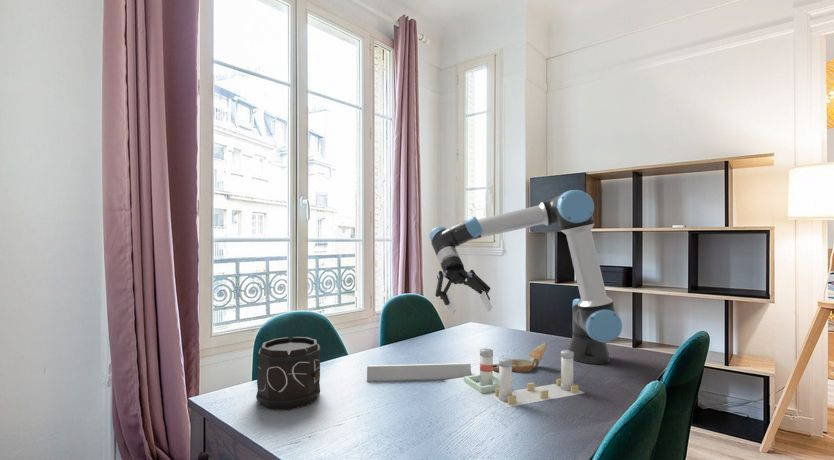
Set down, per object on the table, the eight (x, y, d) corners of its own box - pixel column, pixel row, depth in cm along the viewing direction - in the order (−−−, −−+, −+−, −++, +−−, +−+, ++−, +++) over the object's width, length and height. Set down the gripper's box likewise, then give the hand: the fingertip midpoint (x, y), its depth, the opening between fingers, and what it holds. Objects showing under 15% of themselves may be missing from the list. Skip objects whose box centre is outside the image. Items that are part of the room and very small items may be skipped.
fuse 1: (507, 396, 114) (507, 357, 115) (514, 400, 111) (514, 360, 111) (496, 397, 113) (496, 358, 113) (503, 402, 110) (503, 362, 110)
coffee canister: (296, 417, 103) (297, 355, 104) (241, 406, 110) (242, 348, 110) (334, 392, 120) (335, 339, 121) (285, 383, 126) (285, 333, 127)
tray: (490, 382, 130) (490, 372, 130) (509, 393, 120) (509, 383, 120) (463, 386, 126) (463, 376, 126) (480, 398, 116) (480, 387, 117)
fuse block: (562, 387, 126) (562, 376, 126) (585, 398, 117) (585, 386, 117) (488, 400, 115) (488, 387, 115) (507, 412, 107) (507, 399, 107)
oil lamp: (552, 374, 138) (552, 345, 138) (495, 379, 132) (495, 349, 132) (538, 366, 146) (539, 339, 146) (484, 371, 141) (484, 342, 141)
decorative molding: (367, 380, 138) (366, 382, 129) (367, 365, 140) (367, 366, 130) (464, 377, 142) (471, 379, 132) (464, 363, 143) (470, 364, 134)
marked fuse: (488, 383, 126) (488, 347, 126) (495, 387, 122) (495, 351, 122) (477, 384, 124) (477, 349, 124) (483, 389, 120) (484, 352, 121)
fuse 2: (567, 385, 123) (567, 349, 123) (576, 390, 120) (576, 352, 120) (558, 387, 121) (558, 350, 122) (566, 391, 118) (566, 353, 118)
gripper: (476, 268, 153) (499, 314, 138) (415, 270, 143) (433, 320, 129) (484, 254, 148) (508, 301, 134) (421, 255, 138) (441, 306, 124)
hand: (472, 310), depth 131 cm, fingers open, 13 cm apart
